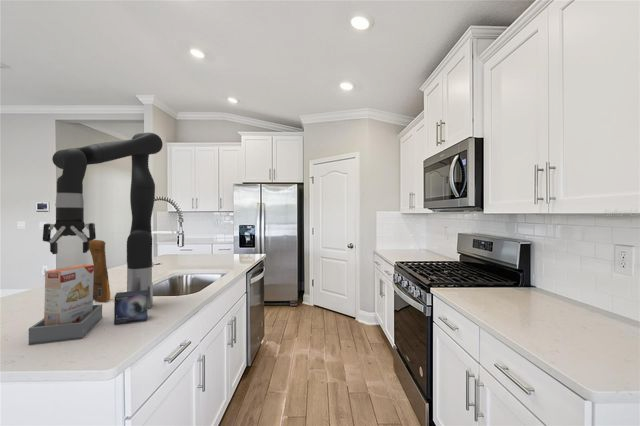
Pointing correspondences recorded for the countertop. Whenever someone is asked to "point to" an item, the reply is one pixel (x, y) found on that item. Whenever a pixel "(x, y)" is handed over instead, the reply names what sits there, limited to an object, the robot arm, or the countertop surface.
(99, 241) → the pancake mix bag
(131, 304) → the small box
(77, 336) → the tray
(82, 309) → the cracker box
